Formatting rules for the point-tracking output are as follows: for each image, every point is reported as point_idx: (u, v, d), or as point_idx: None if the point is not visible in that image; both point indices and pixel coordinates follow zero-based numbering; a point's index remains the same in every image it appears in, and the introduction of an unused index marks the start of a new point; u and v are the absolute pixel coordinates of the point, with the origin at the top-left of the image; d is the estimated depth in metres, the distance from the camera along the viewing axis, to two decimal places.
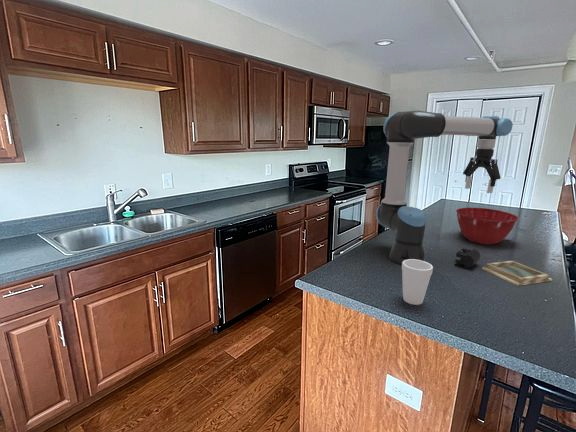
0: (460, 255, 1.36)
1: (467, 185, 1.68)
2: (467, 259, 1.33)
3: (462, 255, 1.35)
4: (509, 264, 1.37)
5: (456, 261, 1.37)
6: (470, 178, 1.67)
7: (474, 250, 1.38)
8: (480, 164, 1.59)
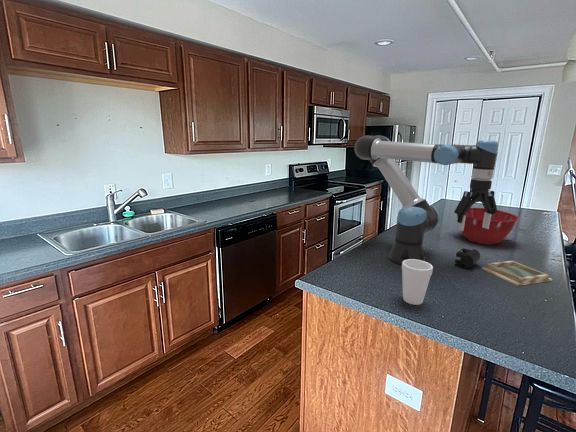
0: (460, 255, 1.36)
1: (484, 223, 1.37)
2: (467, 259, 1.33)
3: (462, 255, 1.35)
4: (509, 264, 1.37)
5: (456, 261, 1.37)
6: (488, 216, 1.35)
7: (474, 250, 1.38)
8: None
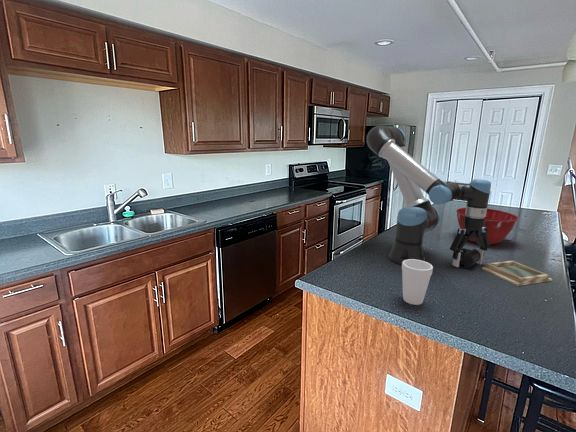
0: None
1: None
2: (467, 259, 1.33)
3: (462, 255, 1.35)
4: (509, 264, 1.37)
5: None
6: (480, 252, 1.38)
7: (474, 250, 1.38)
8: None
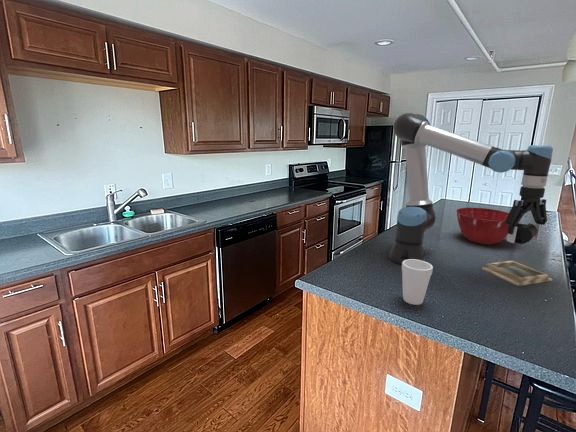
0: None
1: None
2: (525, 233, 1.21)
3: (518, 229, 1.23)
4: (509, 264, 1.37)
5: None
6: (537, 227, 1.26)
7: (530, 224, 1.26)
8: None
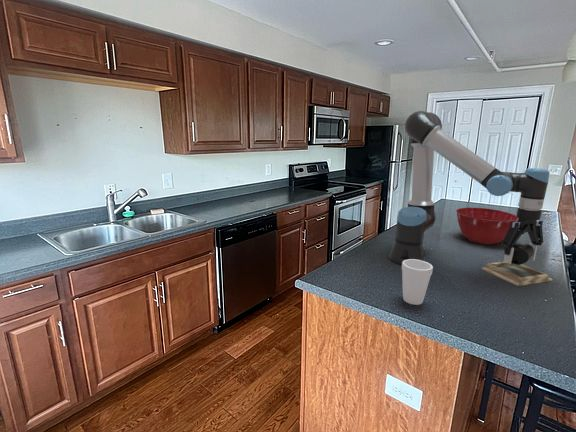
0: None
1: None
2: (521, 254, 1.23)
3: (515, 250, 1.25)
4: (509, 264, 1.37)
5: None
6: (533, 247, 1.28)
7: (527, 245, 1.28)
8: None
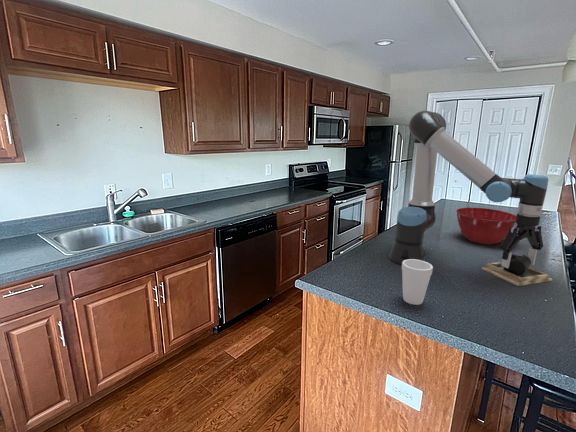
0: (510, 261, 1.27)
1: None
2: (518, 266, 1.24)
3: (512, 261, 1.26)
4: None
5: (505, 268, 1.28)
6: (533, 251, 1.29)
7: (524, 256, 1.29)
8: None
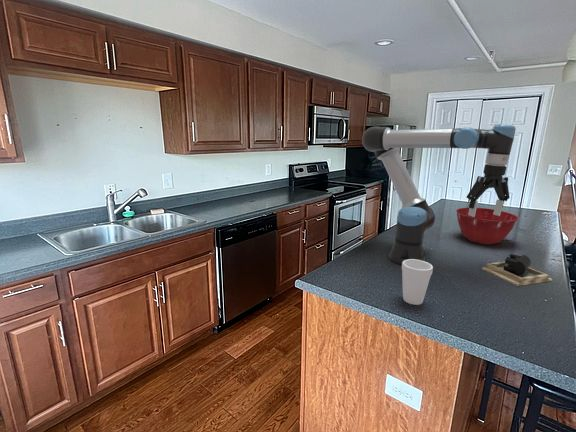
0: (510, 261, 1.27)
1: (495, 210, 1.35)
2: (518, 266, 1.24)
3: (512, 261, 1.26)
4: None
5: (505, 268, 1.28)
6: (500, 203, 1.33)
7: (524, 256, 1.29)
8: None
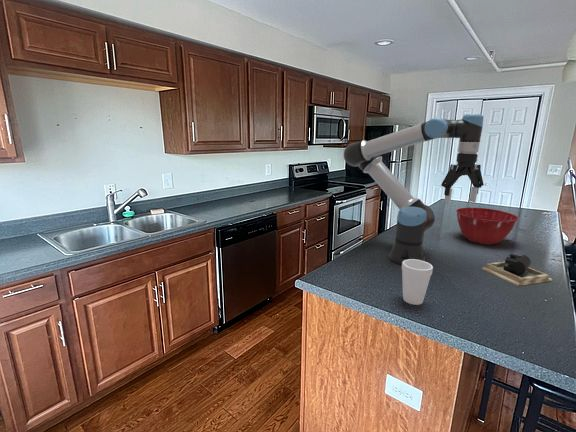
0: (510, 261, 1.27)
1: (471, 197, 1.40)
2: (518, 266, 1.24)
3: (512, 261, 1.26)
4: None
5: (505, 268, 1.28)
6: (474, 190, 1.38)
7: (524, 256, 1.29)
8: None
